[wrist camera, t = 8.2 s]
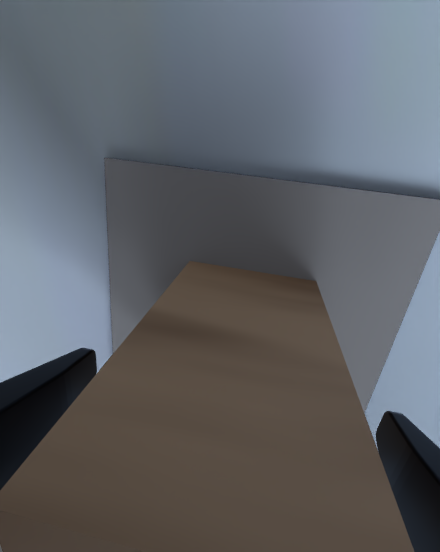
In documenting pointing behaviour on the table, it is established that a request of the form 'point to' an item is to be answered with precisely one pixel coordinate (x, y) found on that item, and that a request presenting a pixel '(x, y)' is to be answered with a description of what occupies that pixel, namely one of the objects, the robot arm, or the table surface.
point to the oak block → (212, 435)
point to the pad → (270, 246)
